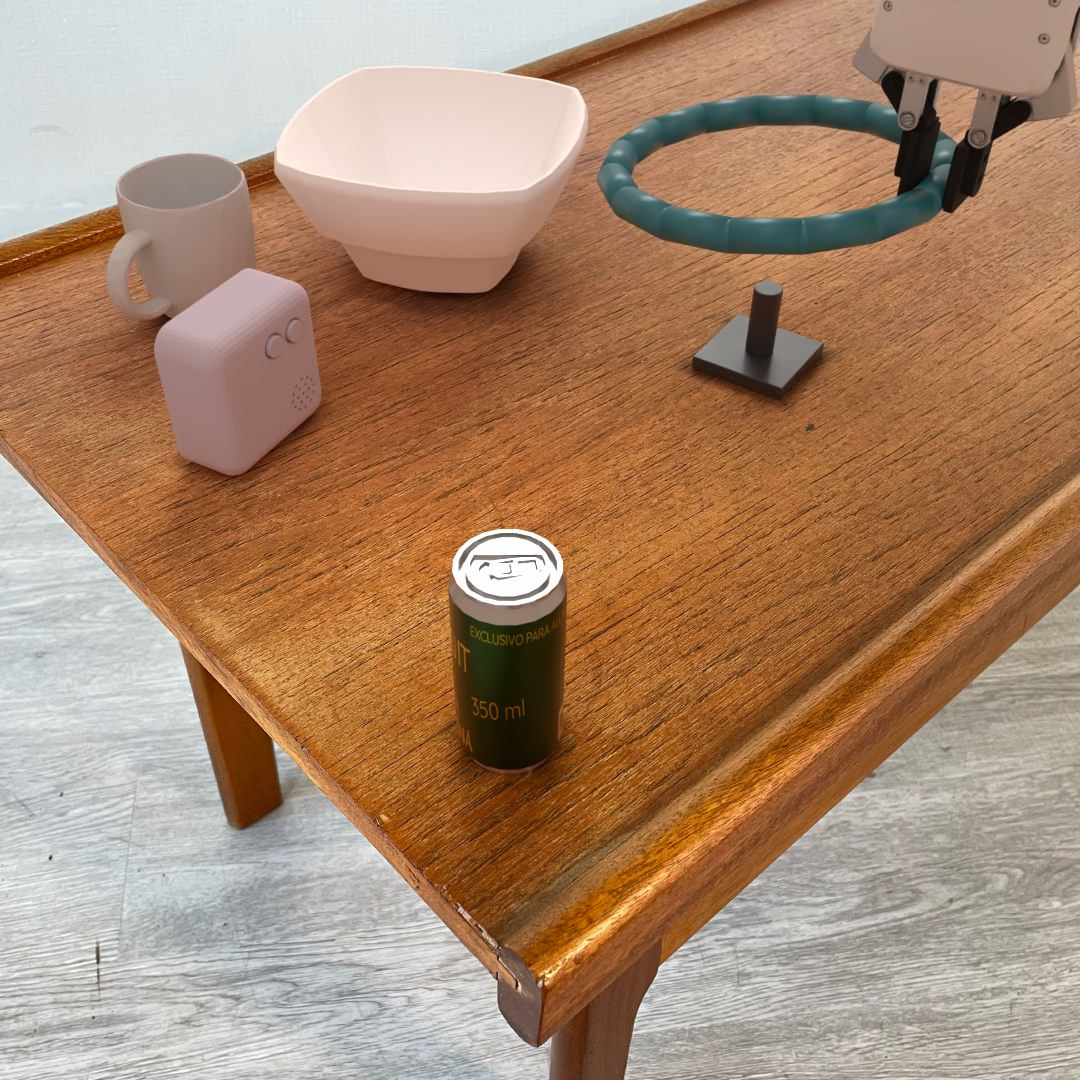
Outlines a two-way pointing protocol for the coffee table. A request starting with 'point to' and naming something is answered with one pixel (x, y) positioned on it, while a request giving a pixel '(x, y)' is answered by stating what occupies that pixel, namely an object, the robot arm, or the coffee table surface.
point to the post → (759, 348)
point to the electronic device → (239, 370)
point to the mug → (180, 232)
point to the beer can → (508, 648)
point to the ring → (761, 231)
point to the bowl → (432, 169)
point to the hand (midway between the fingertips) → (933, 195)
